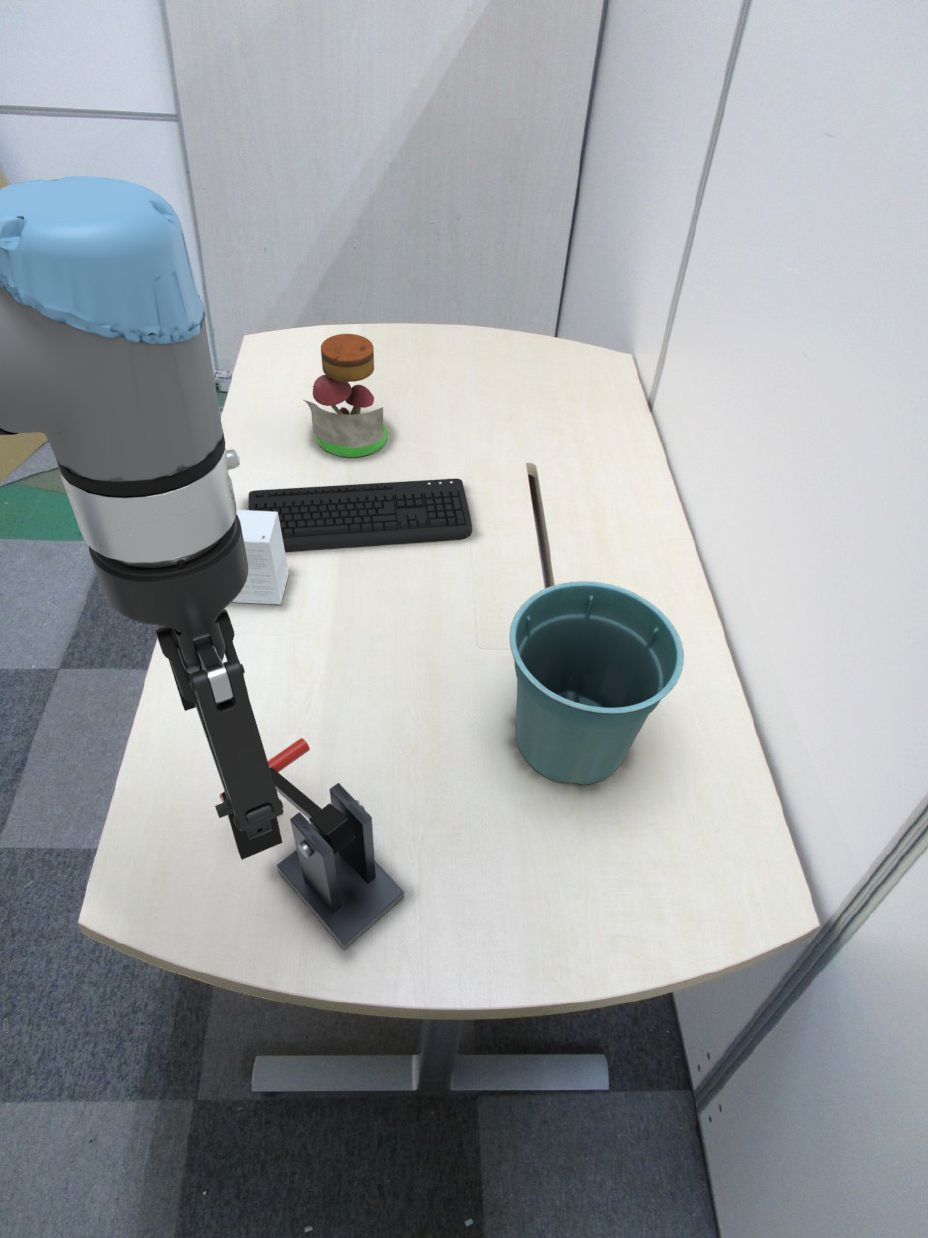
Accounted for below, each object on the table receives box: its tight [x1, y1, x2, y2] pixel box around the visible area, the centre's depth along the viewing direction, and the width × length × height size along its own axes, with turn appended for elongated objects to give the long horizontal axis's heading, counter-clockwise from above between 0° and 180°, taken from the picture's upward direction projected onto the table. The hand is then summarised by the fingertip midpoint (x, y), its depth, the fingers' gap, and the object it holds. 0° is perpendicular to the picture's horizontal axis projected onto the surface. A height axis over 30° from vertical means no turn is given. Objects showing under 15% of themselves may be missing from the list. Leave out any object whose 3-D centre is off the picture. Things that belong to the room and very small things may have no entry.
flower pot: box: [508, 580, 685, 786], centre depth 80 cm, size 16×16×16 cm
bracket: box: [276, 782, 405, 950], centre depth 68 cm, size 10×7×13 cm
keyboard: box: [247, 478, 473, 553], centre depth 107 cm, size 30×11×2 cm, turn 99°
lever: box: [219, 737, 356, 854], centre depth 69 cm, size 13×9×2 cm
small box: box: [231, 509, 290, 606], centre depth 94 cm, size 8×6×10 cm
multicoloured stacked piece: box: [302, 333, 388, 458], centre depth 115 cm, size 12×13×15 cm
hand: (228, 769), depth 55 cm, fingers open, 13 cm apart
